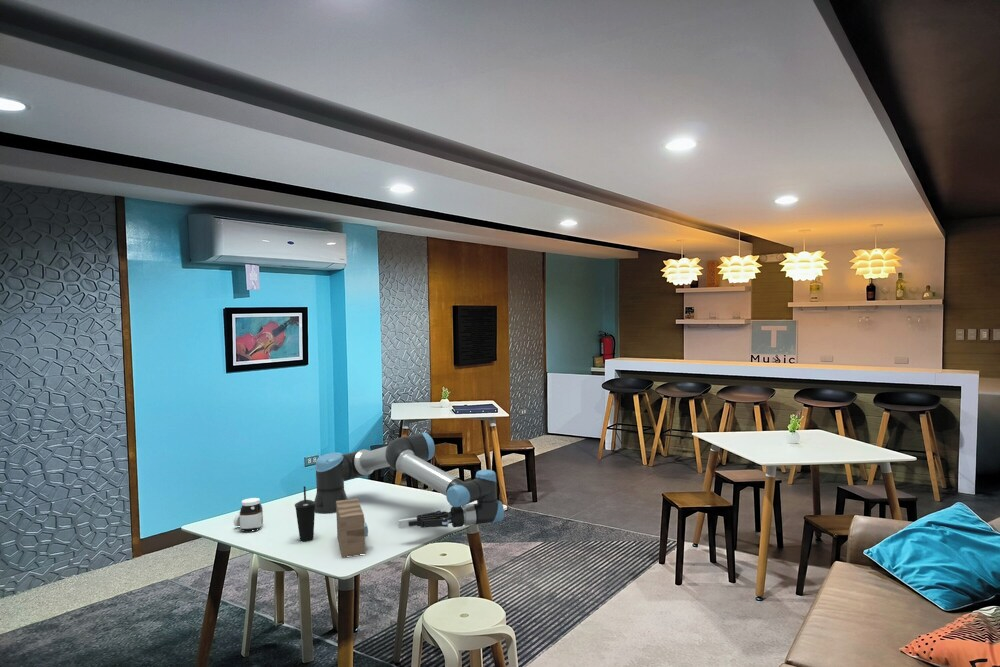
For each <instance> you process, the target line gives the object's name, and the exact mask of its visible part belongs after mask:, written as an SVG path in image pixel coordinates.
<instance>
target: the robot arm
mask: <svg viewBox="0 0 1000 667" xmlns="http://www.w3.org/2000/svg"><path fill="white" fill-rule="evenodd" d="M435 449H436V446H435V442H434V439H433V437H431V435H429V434H428V433H427V432H419V433H414V434H411V435H405V436H402V437H396V438H395V439H393V440H391V441H390V442H389V443H388V445H386V446H382V447H379V448H376V449H372V450H369V449H363V448H362V449H359V450H355V451H353V452H349V453H345V454H344V453H342V452H330V453H326V454H325V453H324V454H322V455H320V456H319V457H318V458H317V459H316V461H315V468H314V469H315V478H316V479H315V481H316V483H315V484H316V494H315V497H314V501H315V502H316V504H315V513H317V512H318V513H317V514H330V513H331V514H333V512H334V513H336V501H341V500H349V498H348V495H347V493H346V490H345V482H347V481H350V480H354V479H358V478H364V477H367V476H369V475H371V474H372V473H374V471H376V470H381V469H384V468H388V467H390V468H391V469H392V470H394V471H395V472H397V473H399V474H407V475H408V476H410V477H411V478H413V479H414V480H417V481H419V482H421V483H423V484H424V485H426V486H427V487H429V488H431V489H433V490H435V491H437V492H438V493H440V494H441V495H444V496H445V498H446V500H447V502H448V503H449V505H450V506H451V507H450V511H446V510H445V511H444V510H443V511H441V510H436V511H433V512H427V513H422V514H418V515H417V516H416V517H410V518H402V519H398V528H399V529H405V528H407V529H408V528H412V527H413V528H414V527H420V528H422V529H423V528H439V527H445V528H447V527H448V526H449V525H450V524H451V525H452V527H453V528H460V527H463V526H465V527H469V528H470V527H472V526H475V525H480V524H481V525H482V524H484V525H485V524H492V523H497V522H500V521H502V520H504V517H505V509H504V504H503V502H502V501H501V500H498V497H497V474H496V472H495V471H494V470H493V469H492V470H491V469H481V470H477V471H476V474H475V478H474V479H471V480H468V481H463V480H462V479H459V478H457V477H456V476H453V475H452V474H450V473H448V472H446V471H445V470H442V469H441V468H439V467H437V466H435V465H433V464H432V463H431V462H428V461H429V460H431V459H433V457H434V455H435V453H436V452H435V451H436V450H435ZM473 502H477V503H473Z"/></svg>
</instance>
